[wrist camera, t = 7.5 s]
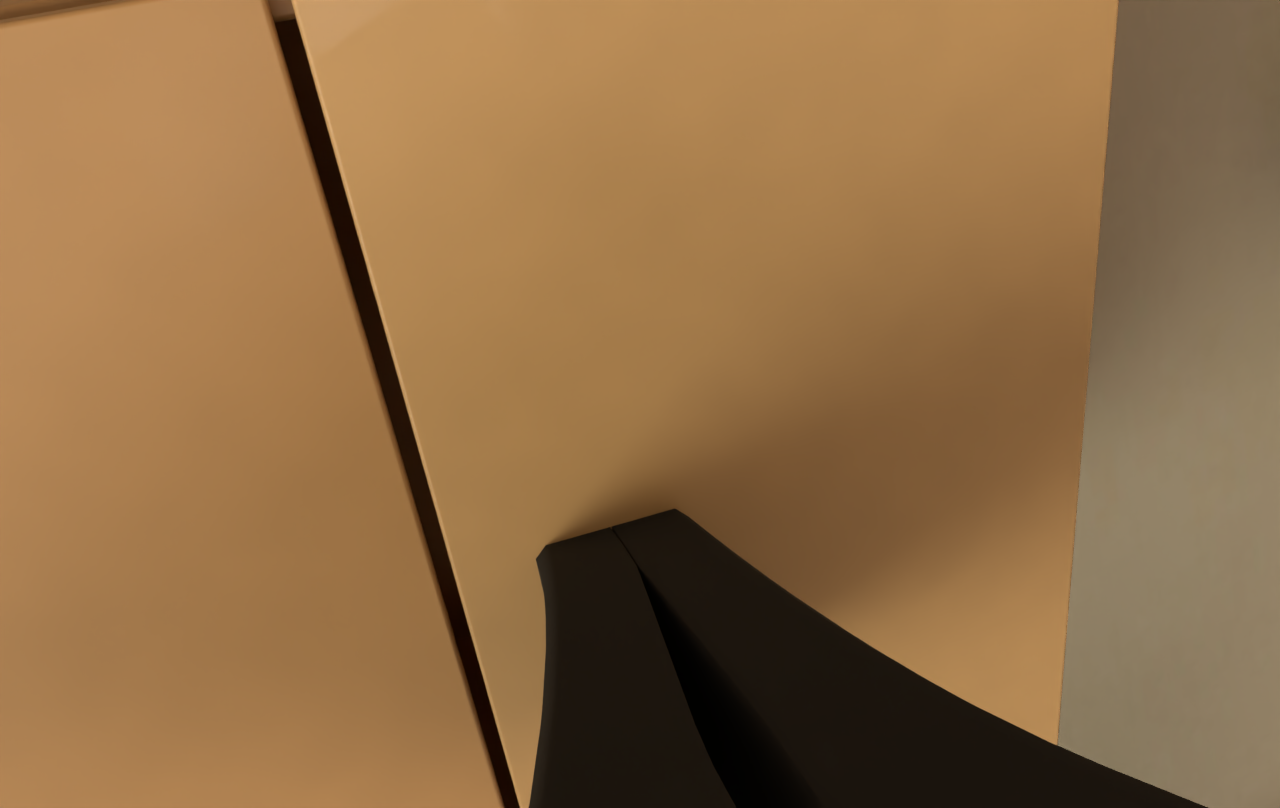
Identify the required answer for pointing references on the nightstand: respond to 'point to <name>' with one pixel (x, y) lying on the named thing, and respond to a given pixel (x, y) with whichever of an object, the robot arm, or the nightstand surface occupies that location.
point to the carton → (208, 442)
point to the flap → (742, 301)
